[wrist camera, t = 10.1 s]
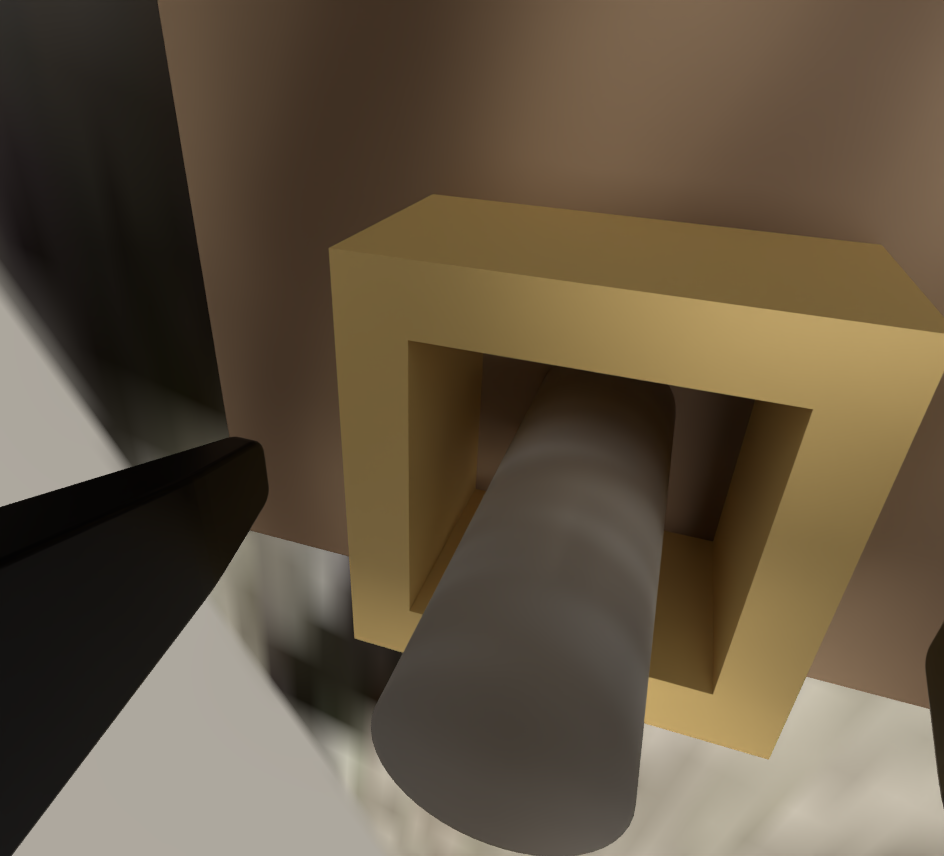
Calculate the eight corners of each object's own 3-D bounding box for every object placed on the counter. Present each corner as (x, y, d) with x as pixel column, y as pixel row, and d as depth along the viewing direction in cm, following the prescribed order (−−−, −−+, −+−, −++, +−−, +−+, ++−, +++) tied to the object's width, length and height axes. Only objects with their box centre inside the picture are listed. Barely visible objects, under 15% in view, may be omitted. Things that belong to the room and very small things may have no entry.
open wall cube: (881, 244, 9) (960, 336, 6) (756, 594, 12) (768, 759, 10) (432, 194, 11) (328, 248, 8) (428, 517, 14) (354, 638, 11)
